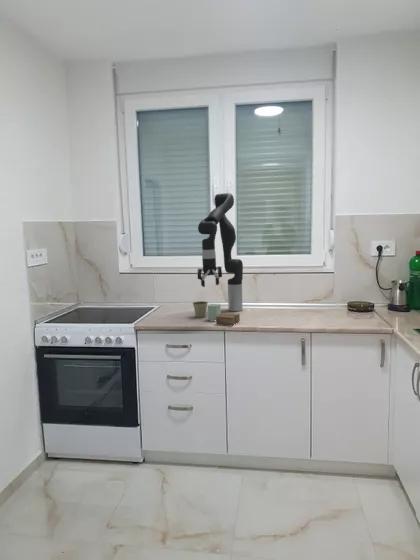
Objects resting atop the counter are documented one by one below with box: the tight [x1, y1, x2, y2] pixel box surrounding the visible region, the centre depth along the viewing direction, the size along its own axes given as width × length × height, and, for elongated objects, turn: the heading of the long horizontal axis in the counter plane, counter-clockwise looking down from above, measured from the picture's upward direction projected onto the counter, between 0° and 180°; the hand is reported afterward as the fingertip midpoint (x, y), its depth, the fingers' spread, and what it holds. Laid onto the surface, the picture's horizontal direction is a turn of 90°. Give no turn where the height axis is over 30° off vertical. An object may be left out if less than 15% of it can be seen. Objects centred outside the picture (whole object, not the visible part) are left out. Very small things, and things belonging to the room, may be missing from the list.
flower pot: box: [192, 300, 209, 318], centre depth 256 cm, size 9×9×9 cm
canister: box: [207, 303, 222, 321], centre depth 246 cm, size 6×6×9 cm
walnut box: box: [215, 312, 241, 327], centre depth 237 cm, size 10×10×5 cm
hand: (210, 285), depth 237 cm, fingers open, 8 cm apart
